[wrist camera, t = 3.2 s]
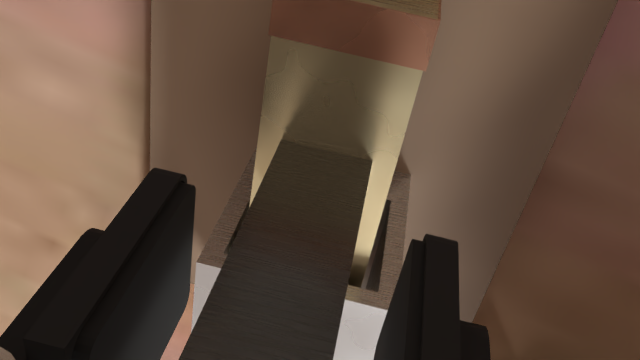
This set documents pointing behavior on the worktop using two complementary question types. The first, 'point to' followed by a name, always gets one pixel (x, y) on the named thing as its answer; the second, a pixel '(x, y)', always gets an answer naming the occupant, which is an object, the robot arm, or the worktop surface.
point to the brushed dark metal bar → (317, 175)
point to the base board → (424, 123)
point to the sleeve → (360, 303)
